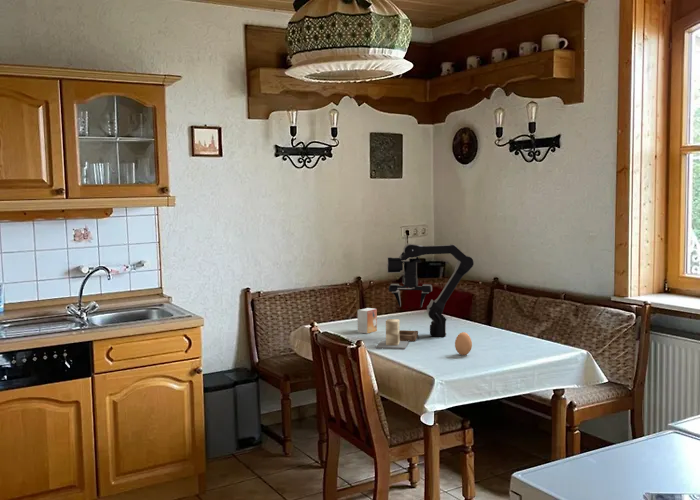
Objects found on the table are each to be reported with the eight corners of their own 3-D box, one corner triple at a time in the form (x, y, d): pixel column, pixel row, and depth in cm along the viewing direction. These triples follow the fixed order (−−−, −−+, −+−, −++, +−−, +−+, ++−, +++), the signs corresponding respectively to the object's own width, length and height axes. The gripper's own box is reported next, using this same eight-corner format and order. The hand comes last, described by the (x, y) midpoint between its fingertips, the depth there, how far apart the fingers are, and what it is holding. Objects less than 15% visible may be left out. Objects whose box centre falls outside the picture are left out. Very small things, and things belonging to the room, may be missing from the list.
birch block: (399, 342, 302) (399, 319, 301) (397, 345, 297) (397, 321, 296) (387, 342, 303) (387, 319, 302) (385, 344, 298) (385, 321, 298)
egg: (451, 355, 282) (451, 332, 282) (461, 352, 287) (461, 329, 286) (465, 357, 278) (465, 334, 277) (475, 354, 282) (475, 332, 281)
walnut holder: (418, 336, 318) (418, 330, 318) (415, 341, 308) (415, 335, 308) (394, 335, 321) (394, 330, 320) (391, 340, 310) (391, 334, 310)
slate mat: (408, 343, 305) (408, 341, 305) (405, 349, 293) (405, 347, 293) (381, 342, 307) (381, 340, 307) (376, 348, 296) (376, 346, 296)
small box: (367, 334, 325) (367, 311, 324) (357, 332, 329) (357, 309, 328) (377, 331, 332) (377, 308, 331) (367, 329, 335) (367, 307, 334)
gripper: (433, 270, 322) (433, 304, 323) (392, 270, 326) (392, 303, 327) (430, 273, 311) (430, 309, 313) (388, 273, 315) (388, 308, 317)
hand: (410, 307), depth 318 cm, fingers open, 9 cm apart
